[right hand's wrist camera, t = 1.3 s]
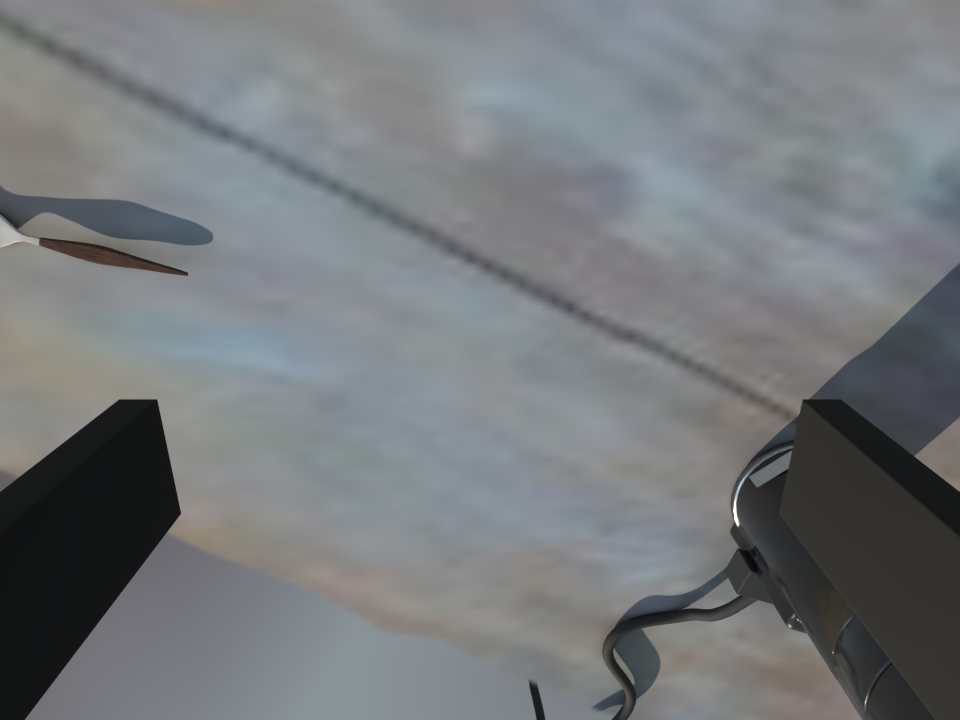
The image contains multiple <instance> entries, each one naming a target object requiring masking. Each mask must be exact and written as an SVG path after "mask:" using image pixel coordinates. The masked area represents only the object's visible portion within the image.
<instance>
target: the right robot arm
mask: <svg viewBox="0 0 960 720" xmlns="http://www.w3.org/2000/svg"><path fill="white" fill-rule="evenodd" d="M180 514H181V511H180V506H179V502H178V497H177V492H176V487H175V482H174V478H173V473H172V468H171V463H170V459H169V454H168V449H167V444H166V440H165V435H164V430H163V425H162V420H161V416H160V411H159V406H158V401H157V400H118V401H117V402H116V403H114V404H113V405H112V406H110V407H109V408H108V409H107V410H105V411H104V412H103V413H101V414H100V415H99V416H98V417H96V418H95V419H94V420H92V421H91V422H90V423H89V424H87V425H86V426H85V427H83V428H82V429H81V430H80V431H78V432H77V433H76V434H74V435H73V436H72V437H71V438H69V439H68V440H67V441H65V442H64V443H63V444H61V445H60V446H59V447H58V448H56V449H55V450H54V451H52V452H51V453H50V454H49V455H47V456H46V457H45V458H43V459H42V460H41V461H40V462H38V463H37V464H36V465H34V466H33V467H32V468H31V469H29V470H28V471H27V472H25V473H24V474H23V475H22V476H20V477H19V478H18V479H16V480H15V481H14V482H13V483H11V484H10V485H9V486H7V487H6V488H5V489H4V490H2V491H1V492H0V720H25V718H26V717H27V716H28V715H29V713H30V712H31V711H32V709H33V708H34V707H35V705H36V704H37V703H38V701H39V700H40V699H41V697H42V696H43V695H44V693H45V692H46V691H47V690H48V688H49V687H50V686H51V684H52V683H53V682H54V680H55V679H56V678H57V676H58V675H59V674H60V672H61V671H62V670H63V668H64V667H65V666H66V665H67V663H68V662H69V661H70V659H71V658H72V657H73V655H74V654H75V653H76V651H77V650H78V649H79V647H80V646H81V645H82V643H83V642H84V641H85V640H86V638H87V637H88V636H89V634H90V633H91V632H92V630H93V629H94V628H95V626H96V625H97V624H98V622H99V621H100V620H101V618H102V617H103V616H104V614H105V613H106V612H107V611H108V609H109V608H110V607H111V605H112V604H113V603H114V601H115V600H116V599H117V597H118V596H119V595H120V593H121V592H122V591H123V589H124V588H125V587H126V585H127V584H128V583H129V582H130V580H131V579H132V578H133V576H134V575H135V574H136V572H137V571H138V570H139V568H140V567H141V566H142V564H143V563H144V562H145V560H146V559H147V558H148V556H149V555H150V554H151V552H152V551H153V550H154V549H155V547H156V546H157V545H158V543H159V542H160V541H161V539H162V538H163V537H164V535H165V534H166V533H167V531H168V530H169V529H170V527H171V526H172V525H173V524H174V522H175V521H176V520H177V518H178V517H179V516H180ZM779 514H780V516H781V517H782V518H783V520H784V521H785V522H786V524H787V525H788V526H789V527H790V529H791V530H792V531H793V533H794V534H795V535H796V537H797V538H798V539H799V541H800V542H801V543H802V545H803V546H804V547H805V549H806V550H807V551H808V553H809V554H810V555H811V556H812V558H813V559H814V560H815V562H816V563H817V564H818V566H819V567H820V568H821V570H822V571H823V572H824V574H825V575H826V576H827V578H828V579H829V580H830V582H831V583H832V584H833V585H834V587H835V588H836V589H837V591H838V592H839V593H840V595H841V596H842V597H843V599H844V600H845V601H846V603H847V604H848V605H849V607H850V608H851V609H852V611H853V612H854V613H855V614H856V616H857V617H858V618H859V620H860V621H861V622H862V624H863V625H864V626H865V628H866V629H867V630H868V632H869V633H870V634H871V636H872V637H873V638H874V640H875V641H876V642H877V643H878V645H879V646H880V647H881V649H882V650H883V651H884V653H885V654H886V655H887V657H888V658H889V659H890V661H891V662H892V663H893V665H894V666H895V667H896V668H897V670H898V671H899V672H900V674H901V675H902V676H903V678H904V679H905V680H906V682H907V683H908V684H909V686H910V687H911V688H912V690H913V691H914V692H915V694H916V695H917V696H918V697H919V699H920V700H921V701H922V703H923V704H924V705H925V707H926V708H927V709H928V711H929V712H930V713H931V715H932V716H933V717H934V719H935V720H960V492H959V491H958V490H956V489H955V488H954V487H953V486H951V485H950V484H949V483H947V482H946V481H945V480H944V479H942V478H941V477H940V476H938V475H937V474H936V473H935V472H933V471H932V470H931V469H929V468H928V467H927V466H926V465H924V464H923V463H922V462H920V461H919V460H918V459H917V458H915V457H914V456H913V455H911V454H910V453H909V452H908V451H906V450H905V449H904V448H902V447H901V446H900V445H899V444H897V443H896V442H895V441H893V440H892V439H891V438H889V437H888V436H887V435H886V434H884V433H883V432H882V431H880V430H879V429H878V428H877V427H875V426H874V425H873V424H871V423H870V422H869V421H868V420H866V419H865V418H864V417H862V416H861V415H860V414H859V413H857V412H856V411H855V410H853V409H852V408H851V407H850V406H848V405H847V404H846V403H844V402H843V401H842V400H803V401H802V406H801V411H800V416H799V420H798V425H797V430H796V435H795V440H794V444H793V449H792V454H791V459H790V463H789V468H788V473H787V478H786V482H785V487H784V492H783V497H782V502H781V506H780V511H779Z"/></svg>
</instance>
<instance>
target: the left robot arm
mask: <svg viewBox="0 0 960 720" xmlns="http://www.w3.org/2000/svg"><path fill="white" fill-rule="evenodd" d="M793 444H794V442H789V443H785V444H782V445H779V446H776V447H774V448H772V449H770V450H768V451H766V452H764V453H763V454H761V455H760V456H758V457H757V458H756V459H754V460H753V461H752V462H751V463H750V464H749V465H748V466H747V467H746V468H745V469H744V471H743V472H742V473H741V475H740V476H739V478H738V480H737V482H736V484H735V486H734V489H733V492H732V496H731V512H732V516H733V519H734V521H735V522H734V525H733V527H732V529H731V531H730V533H731V535H732V537H733V538H734V540H735V542H736V543H737V545H738V547H739V548H740V549H737V550H736V552H735V554H734V556H733V557H732V559H731V561H730V562H729V564H728V566H727V567H726V569H725V573H726V575H727V576H728V578H729V580H730V582H731V584H732V586H733V588H734V589H735V591H736V593H737V594H738V595H740V596H739V597H737V598H736V599H734V600H732V601H731V602H729V603H727V604H725V605H723V606H720V607H717V608H714V609H684V610H678V611H672V612H664V613H657V614H650V615H645V616H640V617H636V618H633V619H630V620H628V621H626V622H623V623H622V624H620V625H618V626H617V627H616V628H614V629H613V630H612V631H611V632H610V633H609V635H608V636H607V638H606V640H605V642H604V644H603V650H602V654H603V659H604V661H605V663H606V665H607V667H608V668H609V670H610V671H611V673H612V674H613V675H614V677H615V678H616V679H617V681H618V682H619V683H620V684H621V686H622V687H623V689H624V692H625V695H626V699H625V702H624V704H623V706H622V708H621V709H620V711H619V712H618V713H617V714H616V716H615V717H614V718H613V719H612V720H627V719H628V717H629V716H630V714H631V713H632V711H633V709H634V706H635V703H636V693H635V689H634V687H633V685H632V683H631V681H630V680H629V678H628V677H627V676H626V674H625V673H624V672H623V670H622V669H621V668H620V666H619V665H618V664H617V662H616V660H615V658H614V655H613V649H614V647H615V645H616V643H617V642H618V641H619V640H620V639H621V638H622V637H623V636H625V635H626V634H628V633H630V632H632V631H635V630H638V629H641V628H645V627H650V626H656V625H664V624H671V623H678V622H685V621H691V620H698V621H718V620H721V619H724V618H727V617H730V616H732V615H734V614H736V613H738V612H739V611H741V610H743V609H744V608H746V607H747V606H749V605H750V604H752V603H754V602H755V601H757V600H760V601H763V602H767V603H771V604H774V606H775V608H776V609H777V611H778V613H779V614H780V616H781V618H782V619H783V621H784V623H785V624H786V625H787V626H788V627H789V628H791V629H793V630H796V631H799V632H803V633H807V634H808V636H809V637H810V639H811V640H812V642H813V643H814V645H815V647H816V648H817V650H818V651H819V653H820V654H821V656H822V658H823V659H824V661H825V662H826V664H827V665H828V667H829V668H830V670H831V672H832V673H833V675H834V676H835V678H836V679H837V681H838V682H839V684H840V685H841V687H842V688H843V690H844V692H845V693H846V695H847V696H848V698H849V699H850V701H851V703H852V704H853V706H854V707H855V709H856V710H857V712H858V714H859V715H860V717H861V718H862V720H935V719H934V717H933V716H932V715H931V713H930V712H929V711H928V709H927V708H926V707H925V705H924V704H923V703H922V701H921V700H920V699H919V697H918V696H917V695H916V694H915V692H914V691H913V690H912V688H911V687H910V686H909V684H908V683H907V682H906V680H905V679H904V678H903V676H902V675H901V674H900V672H899V671H898V670H897V668H896V667H895V666H894V665H893V663H892V662H891V661H890V659H889V658H888V657H887V655H886V654H885V653H884V651H883V650H882V649H881V647H880V646H879V645H878V643H877V642H876V641H875V640H874V638H873V637H872V636H871V634H870V633H869V632H868V630H867V629H866V628H865V626H864V625H863V624H862V622H861V621H860V620H859V618H858V617H857V616H856V614H855V613H854V612H853V611H852V609H851V608H850V607H849V605H848V604H847V603H846V601H845V600H844V599H843V597H842V596H841V595H840V593H839V592H838V591H837V589H836V588H835V587H834V585H833V584H832V583H831V582H830V580H829V579H828V578H827V576H826V575H825V574H824V572H823V571H822V570H821V568H820V567H819V566H818V564H817V563H816V562H815V560H814V559H813V558H812V556H811V555H810V554H809V553H808V551H807V550H806V549H805V547H804V546H803V545H802V543H801V542H800V541H799V539H798V538H797V537H796V535H795V534H794V533H793V531H792V530H791V529H790V527H789V526H788V525H787V524H786V522H785V521H784V520H783V518H782V517H781V516H780V514H779V511H780V506H781V502H782V497H783V492H784V487H785V482H786V478H787V473H788V468H789V463H790V459H791V454H792V449H793ZM528 681H529V680H528ZM529 687H530V692H531V696H532V701H533V705H534V710H535V714H536V720H545V714H544V709H543V705H542V701H541V697H540V693H539V689H538V684H537V683H533V682H532V681H529Z"/></svg>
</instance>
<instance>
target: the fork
mask: <svg viewBox="0 0 960 720" xmlns="http://www.w3.org/2000/svg"><path fill="white" fill-rule="evenodd" d="M19 241H25V242H30V243H33V244H37V245H40V246H43V247H46V248H49V249H52V250H55V251H58V252H61V253H64V254H66V255H69V256H73V257H76V258H79V259H82V260H85V261H89V262H93V263H97V264H103V265H110V266H117V267H126V268H134V269H142V270H149V271H156V272H162V273H169V274H176V275H185V276H188V273H187V272H184V271H181V270H178V269H175V268H172V267H169V266H165V265H162V264H158V263H155V262H152V261H148V260H145V259H142V258H139V257H136V256H132V255H129V254H126V253H123V252H120V251H117V250H114V249H111V248H108V247H104V246H100V245H95V244H89V243H82V242H74V241H65V240H57V239H48V238H40V237H33V236H29V235H25V234H23V233H21V232H20V231H19V230H17V229H16V228H15V227H14V226H13V225H12V224H11V223H10V222H9V221H8V220H7V219H5V218H4V217H3V216H2V215H1V214H0V247H4V246H7V245H10V244H12V243H15V242H19Z"/></svg>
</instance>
